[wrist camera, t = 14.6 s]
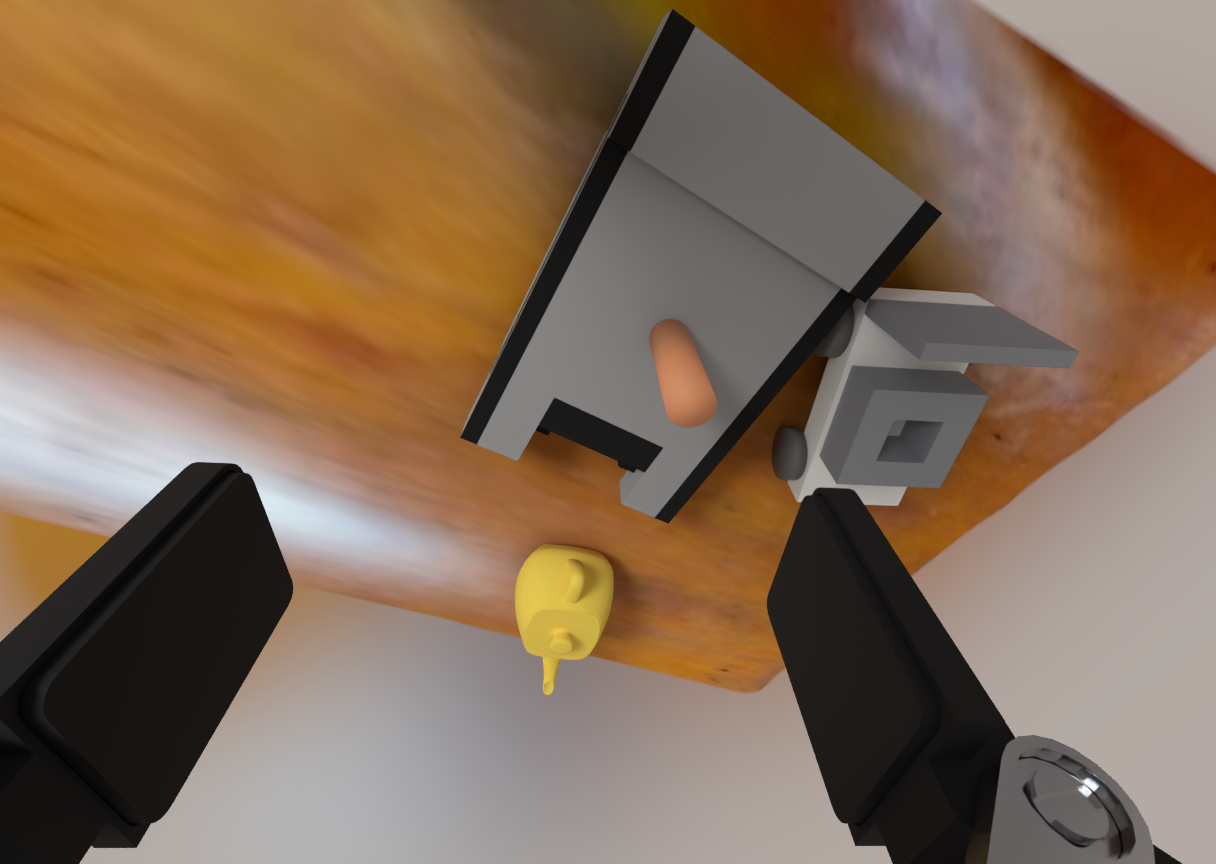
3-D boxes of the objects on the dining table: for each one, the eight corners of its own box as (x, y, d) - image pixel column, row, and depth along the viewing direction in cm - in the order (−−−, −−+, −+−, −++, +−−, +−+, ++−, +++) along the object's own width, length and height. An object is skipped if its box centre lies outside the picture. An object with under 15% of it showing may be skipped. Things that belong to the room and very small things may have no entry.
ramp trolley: (823, 275, 44) (903, 341, 32) (972, 284, 44) (1101, 352, 33) (765, 466, 55) (811, 565, 43) (886, 471, 55) (961, 570, 44)
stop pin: (652, 317, 38) (669, 381, 30) (692, 320, 38) (721, 385, 30) (647, 355, 40) (662, 426, 31) (685, 358, 40) (711, 429, 32)
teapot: (593, 624, 68) (593, 705, 59) (508, 613, 67) (495, 695, 58) (627, 524, 59) (634, 604, 50) (530, 509, 57) (518, 588, 48)
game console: (475, 395, 49) (456, 445, 43) (656, 23, 34) (672, 8, 28) (660, 477, 56) (669, 532, 49) (882, 191, 40) (942, 213, 34)
